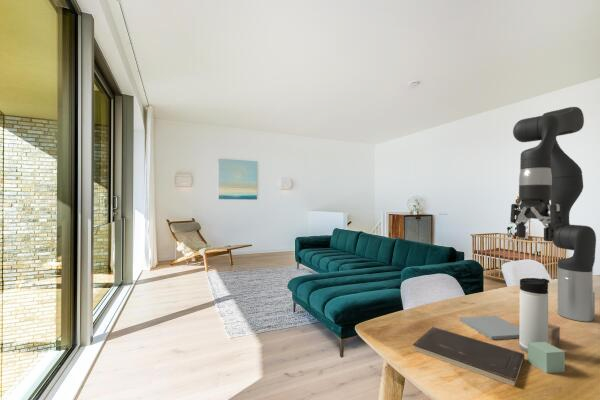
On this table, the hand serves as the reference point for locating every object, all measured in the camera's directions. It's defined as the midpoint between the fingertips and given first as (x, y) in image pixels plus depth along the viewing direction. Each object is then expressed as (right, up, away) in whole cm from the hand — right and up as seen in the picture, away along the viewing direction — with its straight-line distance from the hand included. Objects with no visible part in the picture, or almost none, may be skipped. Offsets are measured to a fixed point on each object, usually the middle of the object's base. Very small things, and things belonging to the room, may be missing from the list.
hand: (534, 239), depth 85 cm
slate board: (-5, -31, +10) cm, 32 cm away
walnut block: (+4, -31, +1) cm, 31 cm away
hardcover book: (-24, -31, -7) cm, 40 cm away
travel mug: (-3, -31, -4) cm, 31 cm away
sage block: (-7, -31, -12) cm, 34 cm away
